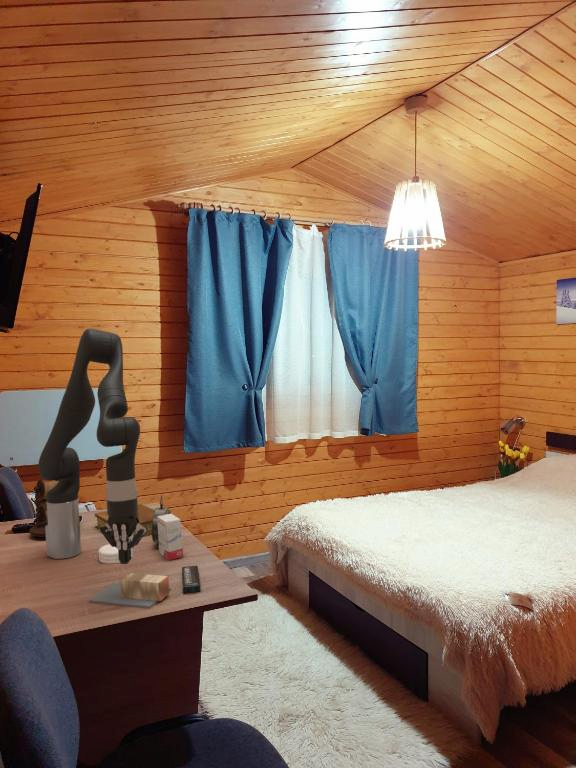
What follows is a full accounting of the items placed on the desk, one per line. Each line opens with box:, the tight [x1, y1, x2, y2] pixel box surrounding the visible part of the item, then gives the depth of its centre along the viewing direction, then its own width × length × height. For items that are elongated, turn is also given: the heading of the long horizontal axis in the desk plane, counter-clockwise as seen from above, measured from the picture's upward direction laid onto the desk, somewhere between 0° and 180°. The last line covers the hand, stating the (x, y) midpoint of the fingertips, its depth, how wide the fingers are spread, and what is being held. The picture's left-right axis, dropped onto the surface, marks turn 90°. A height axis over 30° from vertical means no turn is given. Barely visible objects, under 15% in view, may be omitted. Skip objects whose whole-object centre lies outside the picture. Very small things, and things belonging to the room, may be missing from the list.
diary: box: [94, 503, 155, 540], centre depth 206 cm, size 23×19×6 cm
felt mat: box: [88, 582, 172, 609], centre depth 148 cm, size 17×11×1 cm, turn 74°
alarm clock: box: [151, 494, 172, 550], centre depth 187 cm, size 11×5×16 cm, turn 2°
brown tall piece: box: [28, 479, 59, 541], centre depth 202 cm, size 15×15×20 cm
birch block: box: [120, 572, 170, 602], centre depth 147 cm, size 4×4×11 cm
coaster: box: [98, 543, 134, 565], centre depth 176 cm, size 10×10×4 cm
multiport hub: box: [181, 565, 201, 595], centre depth 155 cm, size 4×14×2 cm, turn 11°
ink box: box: [157, 513, 184, 561], centre depth 177 cm, size 9×5×12 cm, turn 31°
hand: (125, 562), depth 148 cm, fingers closed
